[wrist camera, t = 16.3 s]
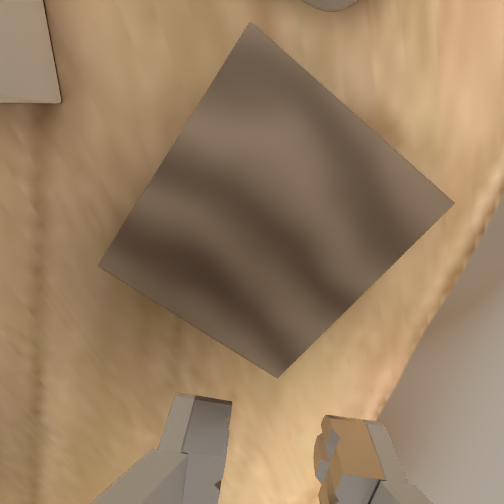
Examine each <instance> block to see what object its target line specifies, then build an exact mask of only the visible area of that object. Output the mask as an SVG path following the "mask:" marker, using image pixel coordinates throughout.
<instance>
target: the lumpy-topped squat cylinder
mask: <svg viewBox="0 0 504 504" xmlns="http://www.w3.org/2000/svg"><path fill="white" fill-rule="evenodd" d="M302 1H304V2H305V3H307V4H309V5H311V6H312V7H314V8H317V9H319V10H322V11H327V12H335V11H340V10H343V9H345V8H347V7H349V6H351V5H352V4H354V3H355V2H356V1H358V0H302Z"/></svg>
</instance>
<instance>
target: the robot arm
mask: <svg viewBox="0 0 504 504" xmlns="http://www.w3.org/2000/svg"><path fill="white" fill-rule="evenodd" d="M231 409H232V402H231V401H226V400H220V399H214V398H208V397H202V396H194V395H189V394H183V393H177V394H176V395H175V397H174V400H173V403H172V406H171V409H170V412H169V415H168V418H167V422H166V425H165V428H164V431H163V434H162V437H161V440H160V443H159V446H158V449H157V450H156V449H151V450H150V451H149V452H147V453H146V454H145V455H144V456H143V457H142V458H141V459H140V460H139V461H137V462H136V463H135V464H134V465H133V466H132V467H131V468H130V469H128V470H127V471H126V472H125V473H124V474H123V475H122V476H121V477H120V478H118V479H117V480H116V481H115V482H114V483H113V484H112V485H111V486H109V487H108V488H107V489H106V490H105V491H104V492H103V493H102V494H101V495H99V496H98V497H97V498H96V499H95V500H94V501H93V502H92V503H90V504H218V499H219V494H220V487H221V479H222V478H223V473H224V467H225V461H226V454H227V445H228V437H229V423H230V417H231ZM321 427H322V432H323V433H321V434H320V435H319V436H317V439H316V442H315V446H314V469H315V476H316V477H317V479H318V480H319V481H320V483H321V484H322V485H321V488H320V491H319V494H318V496H319V502H320V504H433V503H432V502H431V501H430V500H429V499H428V498H427V497H426V496H425V495H424V494H423V493H422V492H421V491H420V490H419V489H418V488H417V487H416V486H415V485H410V484H409V483H408V481H407V478H406V476H405V473H404V471H403V469H402V467H401V464H400V462H399V459H398V457H397V455H396V452H395V450H394V447H393V445H392V443H391V441H390V438H389V436H388V433H387V431H386V429H385V426H384V425H383V424H382V423H381V422H377V421H369V420H361V419H355V418H348V417H340V416H332V415H325V416H324V418H323V420H322V423H321Z"/></svg>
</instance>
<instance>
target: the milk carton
mask: <svg viewBox="0 0 504 504" xmlns="http://www.w3.org/2000/svg"><path fill="white" fill-rule="evenodd" d="M60 102H61V96H60V90H59V85H58V80H57V74H56V69H55V63H54V58H53V53H52V47H51V42H50V36H49V31H48V26H47V20H46V15H45V9H44V4H43V0H0V103H60Z"/></svg>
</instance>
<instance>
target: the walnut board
mask: <svg viewBox="0 0 504 504" xmlns="http://www.w3.org/2000/svg"><path fill="white" fill-rule="evenodd" d="M454 204H455V203H454V202H453V201H452V200H451V199H450V198H449V197H448V196H447V195H445V194H444V193H443V192H442V191H441V190H440V189H439V188H438V187H436V186H435V185H434V184H433V183H432V182H431V181H430V180H428V179H427V178H426V177H425V176H424V175H423V174H422V173H421V172H419V171H418V170H417V169H416V168H415V167H414V166H413V165H412V164H410V163H409V162H408V161H407V160H406V159H405V158H404V157H403V156H401V155H400V154H399V153H398V152H397V151H396V150H395V149H394V148H392V147H391V146H390V145H389V144H388V143H387V142H386V141H385V140H383V139H382V138H381V137H380V136H379V135H378V134H377V133H376V132H374V131H373V130H372V129H371V128H370V127H369V126H368V125H367V124H365V123H364V122H363V121H362V120H361V119H360V118H359V117H358V116H356V115H355V114H354V113H353V112H352V111H351V110H350V109H349V108H347V107H346V106H345V105H344V104H343V103H342V102H341V101H340V100H338V99H337V98H336V97H335V96H334V95H333V94H332V93H331V92H329V91H328V90H327V89H326V88H325V87H324V86H323V85H322V84H320V83H319V82H318V81H317V80H316V79H315V78H314V77H313V76H311V75H310V74H309V73H308V72H307V71H306V70H305V69H304V68H302V67H301V66H300V65H299V64H298V63H297V62H296V61H295V60H293V59H292V58H291V57H290V56H289V55H288V54H287V53H286V52H284V51H283V50H282V49H281V48H280V47H279V46H278V45H277V44H275V43H274V42H273V41H272V40H271V39H270V38H269V37H268V36H266V35H265V34H264V33H263V32H262V31H261V30H260V29H259V28H257V27H256V26H255V25H254V24H253V23H252V22H251V21H250V22H249V24H248V26H247V27H246V29H245V30H244V32H243V34H242V35H241V37H240V38H239V40H238V42H237V43H236V45H235V47H234V48H233V50H232V51H231V53H230V55H229V56H228V58H227V59H226V61H225V63H224V64H223V66H222V67H221V69H220V71H219V72H218V74H217V75H216V77H215V79H214V80H213V82H212V83H211V85H210V87H209V88H208V90H207V91H206V93H205V95H204V96H203V98H202V99H201V101H200V103H199V104H198V106H197V107H196V109H195V111H194V112H193V114H192V115H191V117H190V119H189V120H188V122H187V123H186V125H185V127H184V128H183V130H182V131H181V133H180V135H179V136H178V138H177V139H176V141H175V143H174V144H173V146H172V148H171V149H170V151H169V152H168V154H167V156H166V157H165V159H164V160H163V162H162V164H161V165H160V167H159V168H158V170H157V172H156V173H155V175H154V176H153V178H152V180H151V181H150V183H149V184H148V186H147V188H146V189H145V191H144V192H143V194H142V196H141V197H140V199H139V200H138V202H137V204H136V205H135V207H134V208H133V210H132V212H131V213H130V215H129V216H128V218H127V220H126V221H125V223H124V224H123V226H122V228H121V229H120V231H119V232H118V234H117V236H116V237H115V239H114V241H113V242H112V244H111V245H110V247H109V249H108V250H107V252H106V253H105V255H104V257H103V258H102V260H101V261H100V263H99V265H98V267H100V268H102V269H103V270H105V271H106V272H108V273H109V274H111V275H113V276H114V277H116V278H117V279H119V280H121V281H122V282H124V283H125V284H127V285H129V286H130V287H132V288H133V289H135V290H137V291H138V292H140V293H141V294H143V295H145V296H146V297H148V298H149V299H151V300H153V301H154V302H156V303H157V304H159V305H161V306H162V307H164V308H165V309H167V310H169V311H170V312H172V313H173V314H175V315H177V316H178V317H180V318H181V319H183V320H185V321H186V322H188V323H189V324H191V325H193V326H194V327H196V328H197V329H199V330H201V331H202V332H204V333H205V334H207V335H209V336H210V337H212V338H213V339H215V340H217V341H218V342H220V343H221V344H223V345H225V346H226V347H228V348H229V349H231V350H233V351H234V352H236V353H237V354H239V355H241V356H242V357H244V358H245V359H247V360H249V361H250V362H252V363H253V364H255V365H257V366H258V367H260V368H261V369H263V370H265V371H266V372H268V373H269V374H271V375H273V376H274V377H276V378H278V377H279V376H280V375H281V374H282V373H283V372H284V371H285V370H286V369H287V368H288V367H289V366H290V365H292V364H293V363H294V362H295V361H296V360H297V359H298V358H299V357H300V356H301V355H302V354H303V353H304V352H305V351H306V350H307V349H308V348H309V347H310V346H311V345H312V344H313V343H314V342H315V341H316V340H317V339H318V338H319V337H320V336H321V335H322V334H323V333H324V332H325V331H326V330H327V329H328V328H329V327H330V326H331V325H332V324H333V323H334V322H335V321H336V320H337V319H338V318H339V317H340V316H341V315H342V314H343V313H344V312H345V311H346V310H347V309H348V308H349V307H350V306H351V305H352V304H353V303H354V302H355V301H356V300H357V299H358V298H359V297H360V296H361V295H362V294H363V293H364V292H365V291H366V290H367V289H368V288H370V287H371V286H372V285H373V284H374V283H375V282H376V281H377V280H378V279H379V278H380V277H381V276H382V275H383V274H384V273H385V272H386V271H387V270H388V269H389V268H390V267H391V266H392V265H393V264H394V263H395V262H396V261H397V260H398V259H399V258H400V257H401V256H402V255H403V254H404V253H405V252H406V251H407V250H408V249H409V248H410V247H411V246H412V245H413V244H414V243H415V242H416V241H417V240H418V239H419V238H420V237H421V236H422V235H423V234H424V233H425V232H426V231H427V230H428V229H429V228H430V227H431V226H432V225H433V224H434V223H435V222H436V221H437V220H438V219H439V218H440V217H441V216H442V215H443V214H444V213H445V212H446V211H448V210H449V209H450V208H451V207H452V206H453V205H454Z"/></svg>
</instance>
